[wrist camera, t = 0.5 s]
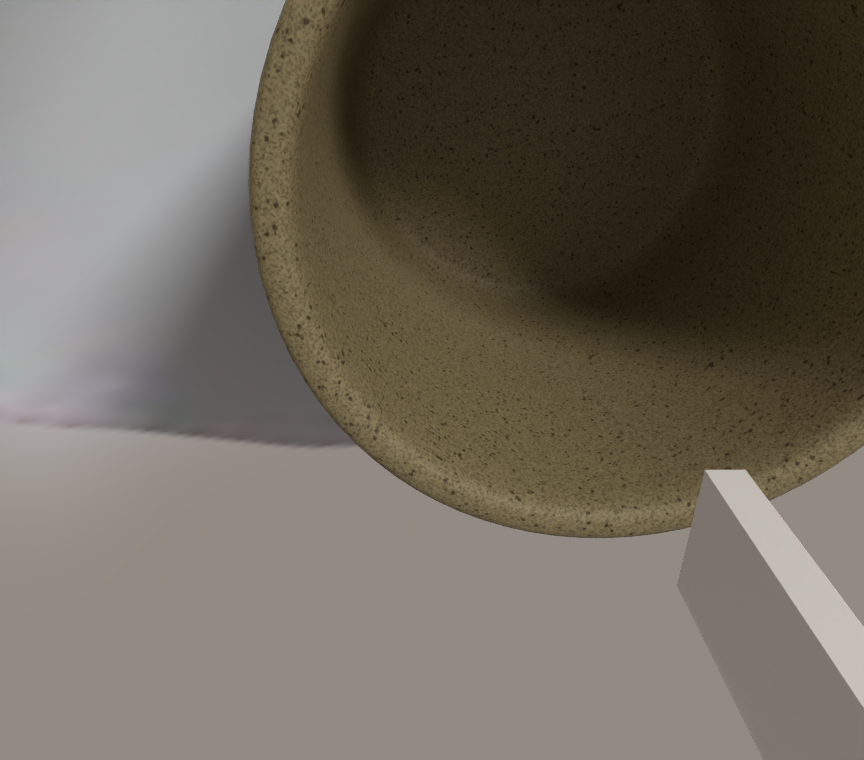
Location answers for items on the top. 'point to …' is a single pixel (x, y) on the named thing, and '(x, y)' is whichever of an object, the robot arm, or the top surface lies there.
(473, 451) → the planter
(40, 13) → the top surface
